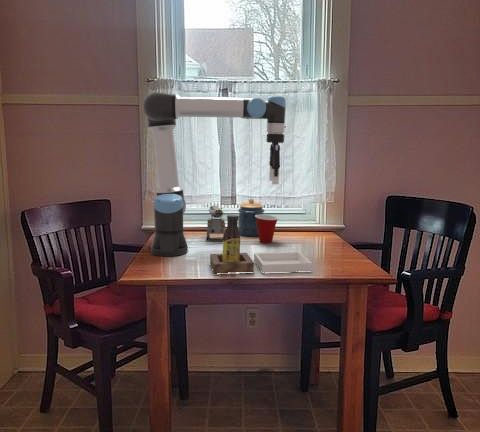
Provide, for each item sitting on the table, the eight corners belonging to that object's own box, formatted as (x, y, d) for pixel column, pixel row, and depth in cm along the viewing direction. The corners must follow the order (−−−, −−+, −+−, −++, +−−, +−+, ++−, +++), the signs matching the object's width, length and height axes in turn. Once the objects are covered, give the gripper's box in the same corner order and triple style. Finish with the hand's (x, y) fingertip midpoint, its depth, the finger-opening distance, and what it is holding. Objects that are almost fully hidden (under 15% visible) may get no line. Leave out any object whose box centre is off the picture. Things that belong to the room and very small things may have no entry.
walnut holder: (214, 275, 159) (214, 264, 158) (210, 264, 173) (210, 253, 172) (253, 273, 161) (253, 262, 161) (246, 262, 175) (246, 252, 174)
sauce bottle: (226, 272, 163) (226, 217, 159) (219, 267, 168) (219, 214, 165) (242, 270, 165) (243, 216, 162) (236, 265, 171) (236, 213, 167)
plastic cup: (279, 244, 204) (280, 218, 202) (255, 244, 204) (256, 218, 201) (276, 238, 215) (276, 213, 213) (253, 239, 214) (253, 213, 212)
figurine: (226, 236, 220) (226, 205, 217) (225, 241, 209) (225, 209, 206) (207, 235, 220) (207, 204, 218) (205, 241, 209) (205, 208, 206)
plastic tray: (262, 274, 161) (262, 264, 160) (253, 261, 176) (254, 253, 176) (311, 272, 164) (312, 262, 163) (298, 260, 179) (299, 251, 179)
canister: (256, 238, 216) (257, 201, 213) (232, 234, 223) (233, 199, 219) (268, 233, 228) (269, 197, 224) (245, 230, 234) (246, 195, 231)
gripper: (288, 133, 185) (285, 185, 188) (280, 133, 209) (279, 179, 213) (269, 133, 184) (267, 185, 188) (264, 133, 209) (262, 179, 213)
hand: (273, 182), depth 201 cm, fingers open, 13 cm apart
